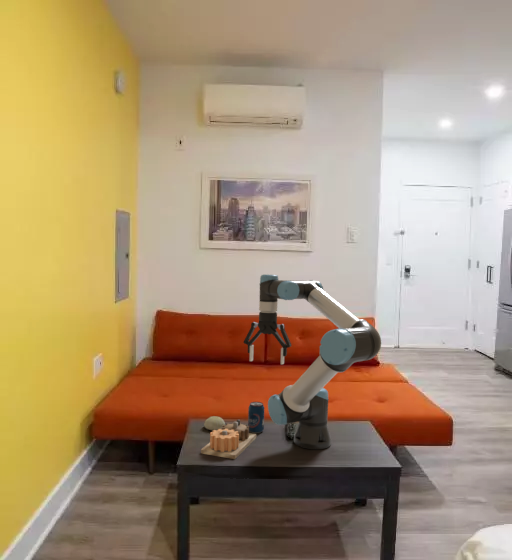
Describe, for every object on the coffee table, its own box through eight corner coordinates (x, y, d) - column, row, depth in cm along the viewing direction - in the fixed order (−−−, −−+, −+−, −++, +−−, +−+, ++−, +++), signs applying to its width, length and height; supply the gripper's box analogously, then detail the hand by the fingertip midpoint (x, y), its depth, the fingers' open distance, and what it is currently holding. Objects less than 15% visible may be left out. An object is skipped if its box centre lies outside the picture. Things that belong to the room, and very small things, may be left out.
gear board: (256, 437, 207) (256, 420, 206) (235, 459, 184) (235, 439, 184) (225, 433, 211) (225, 415, 211) (200, 453, 188) (201, 434, 188)
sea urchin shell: (227, 420, 222) (225, 411, 216) (224, 437, 217) (222, 428, 211) (207, 419, 223) (204, 410, 217) (204, 435, 218) (201, 427, 212)
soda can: (245, 432, 213) (246, 404, 213) (251, 427, 220) (251, 400, 219) (260, 434, 211) (261, 406, 210) (265, 429, 217) (266, 402, 217)
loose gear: (232, 453, 185) (232, 440, 185) (205, 449, 188) (205, 436, 188) (242, 443, 195) (242, 431, 195) (217, 439, 199) (217, 427, 199)
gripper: (299, 312, 205) (298, 363, 206) (243, 309, 213) (242, 357, 214) (294, 314, 198) (293, 366, 198) (236, 310, 206) (235, 361, 207)
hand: (266, 362), depth 206 cm, fingers open, 13 cm apart
